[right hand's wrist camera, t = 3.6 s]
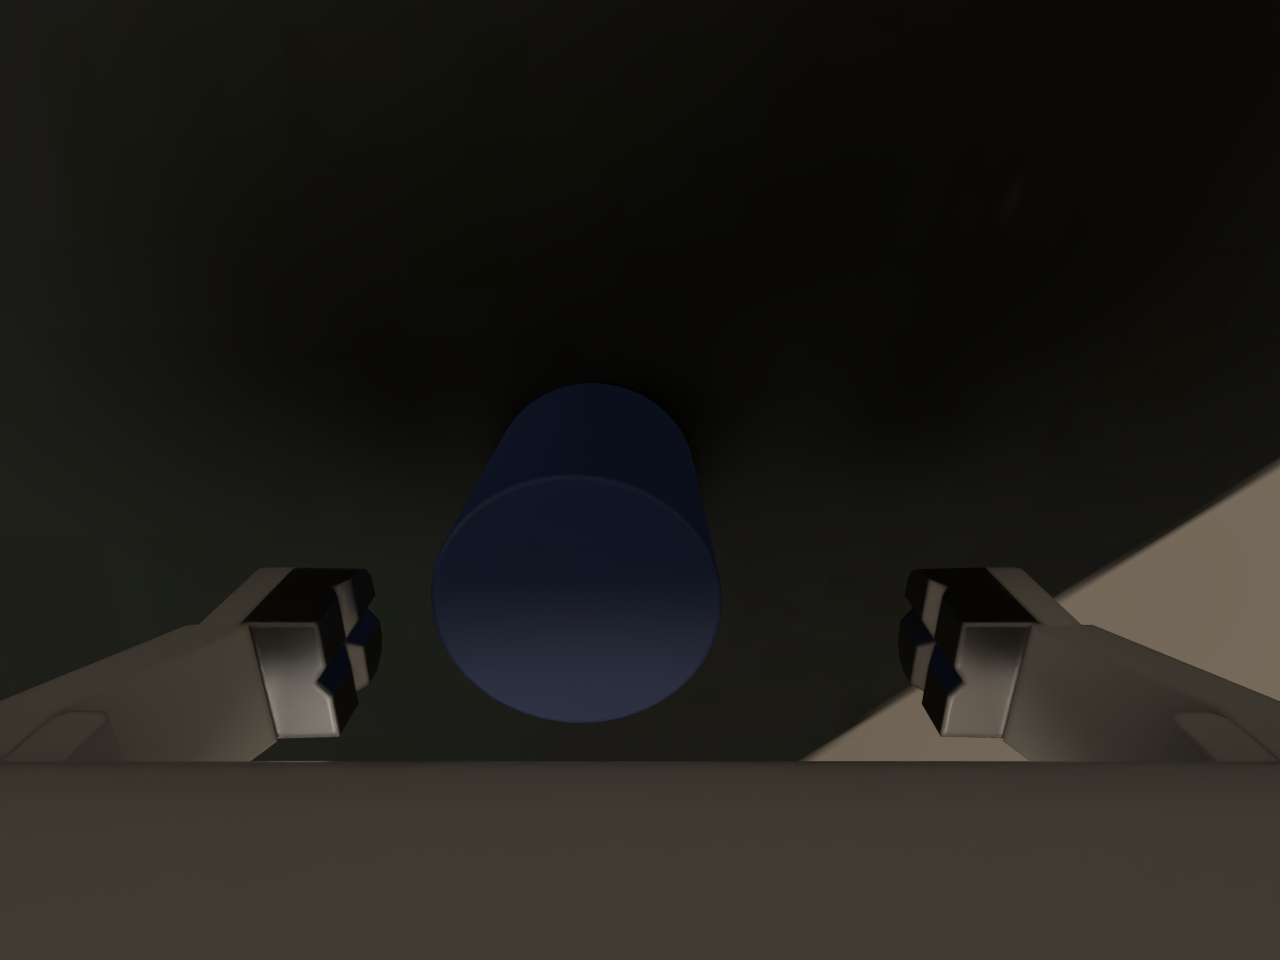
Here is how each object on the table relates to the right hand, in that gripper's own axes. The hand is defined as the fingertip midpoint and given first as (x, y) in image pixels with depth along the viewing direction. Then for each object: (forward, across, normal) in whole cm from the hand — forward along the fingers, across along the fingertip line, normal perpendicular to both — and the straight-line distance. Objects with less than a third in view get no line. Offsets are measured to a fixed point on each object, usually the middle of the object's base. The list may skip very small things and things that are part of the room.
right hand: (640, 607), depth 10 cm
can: (+4, -1, +1) cm, 4 cm away
